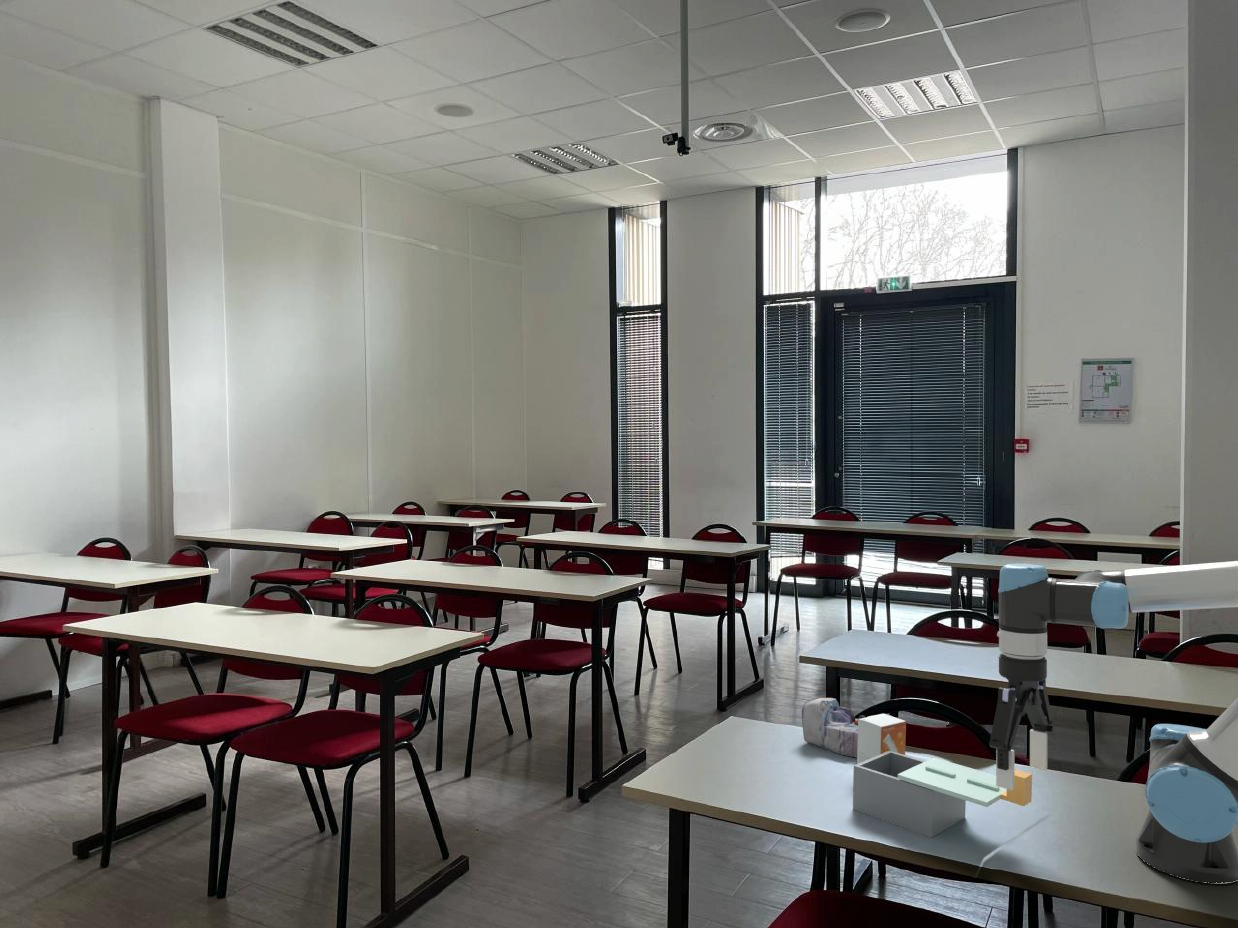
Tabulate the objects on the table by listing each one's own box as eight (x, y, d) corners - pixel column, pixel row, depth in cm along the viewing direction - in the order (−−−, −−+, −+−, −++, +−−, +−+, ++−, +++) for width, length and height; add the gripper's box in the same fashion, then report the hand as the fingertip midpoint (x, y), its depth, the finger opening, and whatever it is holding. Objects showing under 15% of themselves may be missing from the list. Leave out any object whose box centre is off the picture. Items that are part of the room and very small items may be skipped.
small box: (879, 789, 177) (881, 726, 177) (855, 779, 182) (857, 718, 182) (905, 781, 182) (906, 720, 181) (881, 772, 187) (882, 712, 187)
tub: (965, 820, 163) (966, 773, 163) (931, 840, 154) (932, 790, 154) (888, 794, 175) (889, 750, 174) (852, 812, 166) (853, 765, 166)
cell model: (815, 688, 213) (897, 705, 201) (813, 732, 213) (895, 751, 202) (795, 700, 202) (880, 718, 191) (793, 746, 202) (878, 767, 191)
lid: (1043, 793, 152) (1044, 766, 152) (1010, 814, 143) (1011, 785, 143) (933, 761, 168) (934, 736, 168) (897, 778, 158) (898, 752, 158)
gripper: (1030, 640, 160) (1030, 755, 160) (967, 662, 143) (967, 789, 143) (1073, 647, 154) (1073, 765, 154) (1013, 670, 137) (1013, 803, 137)
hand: (1022, 777), depth 149 cm, fingers open, 13 cm apart
